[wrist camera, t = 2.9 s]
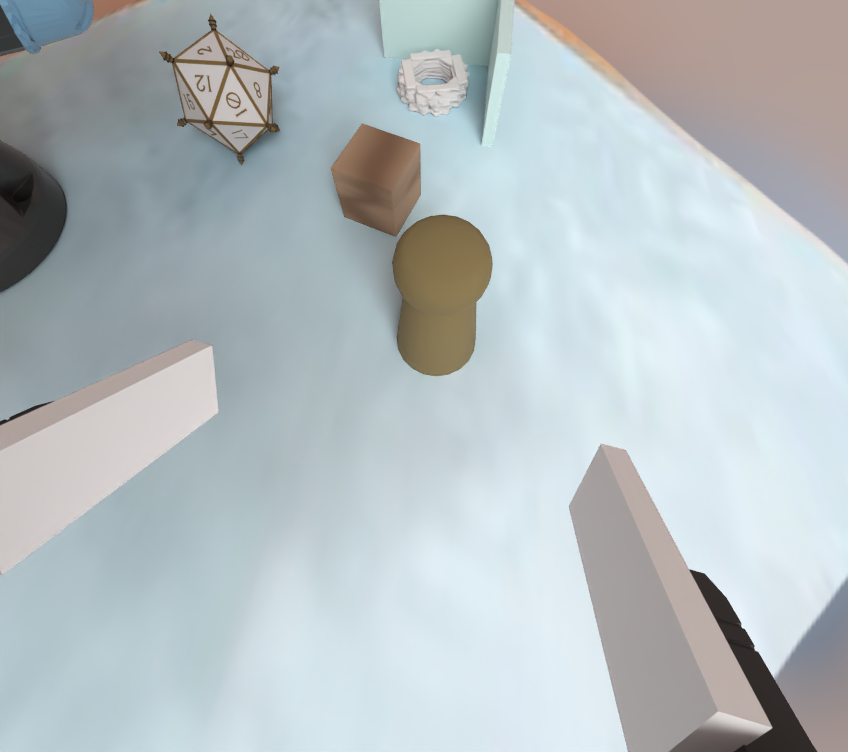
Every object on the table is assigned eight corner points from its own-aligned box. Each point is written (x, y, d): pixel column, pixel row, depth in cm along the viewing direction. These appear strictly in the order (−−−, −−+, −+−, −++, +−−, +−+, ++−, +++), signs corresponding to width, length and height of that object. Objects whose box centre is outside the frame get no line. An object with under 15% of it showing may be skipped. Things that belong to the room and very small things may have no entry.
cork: (444, 291, 29) (456, 176, 19) (491, 347, 27) (533, 257, 17) (381, 330, 28) (357, 231, 17) (426, 391, 26) (428, 323, 16)
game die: (261, 160, 38) (239, 31, 33) (311, 168, 34) (294, 21, 28) (169, 161, 32) (121, 5, 27) (214, 171, 28) (169, -13, 22)
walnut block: (344, 217, 31) (330, 168, 27) (370, 177, 33) (362, 123, 28) (396, 237, 31) (391, 190, 26) (420, 195, 32) (420, 143, 27)
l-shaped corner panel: (385, 52, 38) (376, -50, 31) (498, 61, 38) (516, -40, 31) (367, 135, 34) (352, 41, 27) (492, 146, 34) (511, 54, 27)
